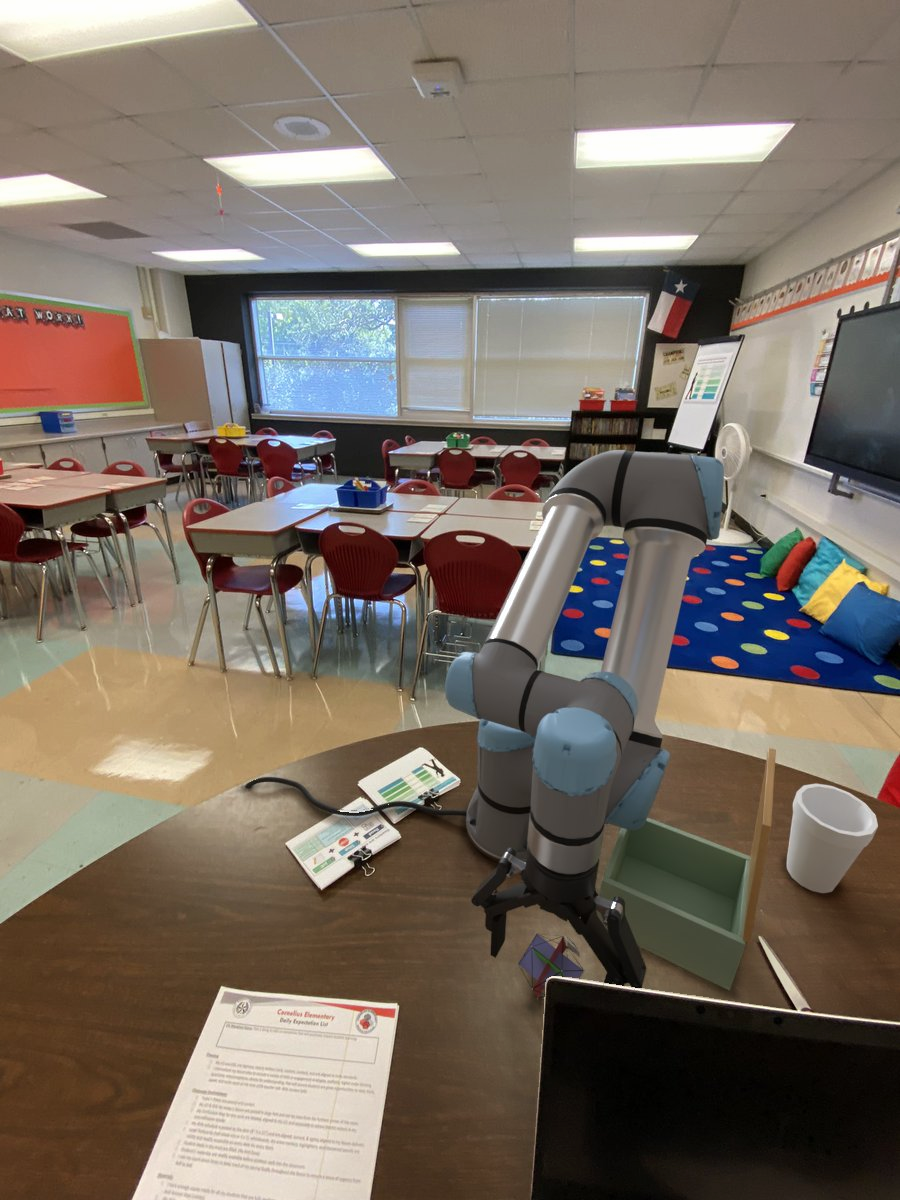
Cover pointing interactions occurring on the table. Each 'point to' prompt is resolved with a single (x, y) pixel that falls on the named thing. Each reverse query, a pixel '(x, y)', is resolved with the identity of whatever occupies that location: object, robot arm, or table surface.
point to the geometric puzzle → (549, 961)
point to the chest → (681, 898)
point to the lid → (759, 844)
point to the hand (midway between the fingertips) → (548, 975)
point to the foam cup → (827, 835)
